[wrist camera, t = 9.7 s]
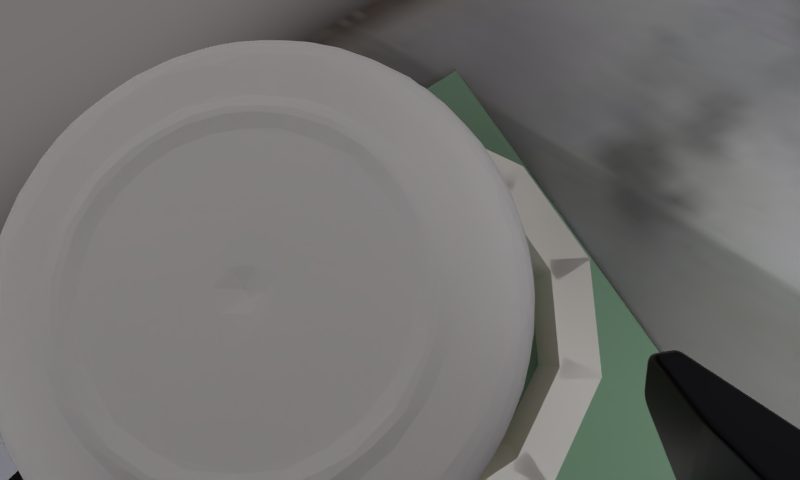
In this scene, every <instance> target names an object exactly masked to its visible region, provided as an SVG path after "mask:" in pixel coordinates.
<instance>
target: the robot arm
mask: <svg viewBox="0 0 800 480" xmlns="http://www.w3.org/2000/svg"><path fill="white" fill-rule="evenodd" d="M644 393H645V400H646V404H647V407H648V410H649V412H650V415H651V417H652V420H653V422H654V425H655V428H656V430H657V433H658V435H659V438H660V440H661V443H662V445H663V448H664V450H665V453H666V455H667V458H668V460H669V463H670V466H671V468H672V471H673V473H674V476H675V478H676V480H800V429H798V428H797V427H795V426H794V425H792V424H790V423H789V422H787V421H786V420H784V419H783V418H781V417H780V416H778V415H777V414H775V413H774V412H772V411H771V410H769V409H768V408H766V407H765V406H763V405H762V404H760V403H758V402H757V401H755V400H754V399H752V398H751V397H749V396H748V395H746V394H745V393H743V392H742V391H740V390H739V389H737V388H736V387H734V386H733V385H731V384H729V383H728V382H726V381H725V380H723V379H722V378H720V377H719V376H717V375H716V374H714V373H713V372H711V371H710V370H708V369H707V368H705V367H704V366H702V365H700V364H699V363H697V362H696V361H694V360H693V359H691V358H690V357H688V356H687V355H685V354H684V353H682V352H679V351H675V350H674V351H667V352H661V353H655V354H652V355H651V356H650V357H649V359H648V363H647V372H646V381H645V391H644ZM9 480H23V479H22V477H21V475H20V473H19V471H17V472H16V473H15V474H14V475H13V476H12V477H11V478H10V479H9Z"/></svg>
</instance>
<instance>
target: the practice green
mask: <svg viewBox="0 0 800 480" xmlns="http://www.w3.org/2000/svg"><path fill="white" fill-rule="evenodd" d="M427 90H429V91H430V92H431V93H432V94H434V95H435V96H436V97H437V98H438V99H440V100H441V101H442V102H443V103H445V104H446V105H447V106H448V107H449V108H450V109H451V110H452V112H453V113H454V114H455V115H456V116H457V117H458V118H459V119H460V120H461V121H462V122H463V123H464V124H465V125H466V126H467V127H468V128H469V129H470V130H471V131H472V133H473V134H474V135H475V136H476V137H477V138H478V139H479V141H480V142H481V143H482V144H483V146H484V147H485V149H486V150H487V152H488V154H489V155H490V157H491V158H492V160H493V161H494V163H495V164H496V166H497V167H498V169H499V170H500V172H501V174H502V176H503V178H504V180H505V182H506V184H507V186H508V188H509V190H510V192H511V194H512V197H513V199H514V202H515V205H516V208H517V210H518V213H519V216H520V219H521V221H522V224H523V228H524V232H525V236H526V240H527V244H528V247H529V251H530V257H531V263H532V269H533V279H534V289H535V313H534V336H533V342H532V349H531V356H530V361H529V366H528V370H527V375H526V379H525V384H524V388H523V391H522V394H521V396H520V399H519V402H518V405H517V407H516V410H515V413H514V415H513V418H512V420H511V422H510V424H509V427H508V429H507V431H506V433H505V436H504V437H503V439H502V441H501V443H500V445H499V447H498V448H497V450H496V452H495V454H494V456H493V457H492V459H491V461H490V463H489V464H488V466H487V468H486V469H485V471H484V472H483V474H482V475H481V477H480V478H479V480H676V478H675V476H674V473H673V471H672V468H671V466H670V463H669V460H668V458H667V455H666V453H665V450H664V448H663V445H662V443H661V440H660V438H659V435H658V433H657V430H656V428H655V425H654V422H653V420H652V417H651V415H650V412H649V410H648V407H647V404H646V400H645V393H644V391H645V381H646V372H647V363H648V359H649V357H650V356H651V355H652V354H655V353H660V352H659V351H658V350H657V348H656V347H655V345H654V344H653V343H652V341H651V340H650V339H649V337H648V336H647V334H646V333H645V332H644V330H643V329H642V327H641V326H640V325H639V323H638V322H637V320H636V319H635V318H634V316H633V315H632V314H631V312H630V311H629V309H628V308H627V307H626V305H625V304H624V302H623V301H622V300H621V298H620V297H619V296H618V294H617V293H616V291H615V290H614V289H613V287H612V286H611V284H610V283H609V282H608V280H607V279H606V277H605V276H604V275H603V273H602V272H601V271H600V269H599V268H598V266H597V265H596V264H595V262H594V261H593V259H592V258H591V257H590V255H589V254H588V252H587V251H586V250H585V248H584V247H583V246H582V244H581V243H580V241H579V240H578V239H577V237H576V236H575V234H574V233H573V232H572V230H571V229H570V227H569V226H568V225H567V223H566V222H565V221H564V219H563V218H562V216H561V215H560V214H559V212H558V211H557V209H556V208H555V207H554V205H553V204H552V202H551V201H550V200H549V198H548V197H547V196H546V194H545V193H544V191H543V190H542V189H541V187H540V186H539V184H538V183H537V182H536V180H535V179H534V177H533V176H532V175H531V173H530V172H529V171H528V169H527V168H526V166H525V165H524V164H523V162H522V161H521V159H520V158H519V157H518V155H517V154H516V152H515V151H514V150H513V148H512V147H511V146H510V144H509V143H508V141H507V140H506V139H505V137H504V136H503V134H502V133H501V132H500V130H499V129H498V127H497V126H496V125H495V123H494V122H493V121H492V119H491V118H490V116H489V115H488V114H487V112H486V111H485V109H484V108H483V107H482V105H481V104H480V103H479V101H478V100H477V98H476V97H475V96H474V94H473V93H472V91H471V90H470V89H469V87H468V86H467V84H466V83H465V82H464V80H463V79H462V78H461V76H460V75H459V73H458V72H457V71H454V72H453V73H451V74H449V75H448V76H446V77H445V78H443V79H441V80H440V81H438V82H437V83H435V84H433V85H432V86H430V87H428V88H427Z"/></svg>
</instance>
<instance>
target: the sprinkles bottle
mask: <svg viewBox="0 0 800 480" xmlns="http://www.w3.org/2000/svg"><path fill="white" fill-rule="evenodd" d="M534 313H535V289H534V279H533V269H532V263H531V257H530V251H529V247H528V244H527V240H526V236H525V232H524V228H523V224H522V221H521V219H520V216H519V213H518V210H517V208H516V205H515V202H514V199H513V197H512V194H511V192H510V190H509V188H508V186H507V184H506V182H505V180H504V178H503V176H502V174H501V172H500V170H499V169H498V167H497V166H496V164H495V163H494V161H493V160H492V158H491V157H490V155H489V154H488V152H487V150H486V149H485V147H484V146H483V144H482V143H481V142H480V141H479V139H478V138H477V137H476V136H475V135H474V134H473V133H472V131H471V130H470V129H469V128H468V127H467V126H466V125H465V124H464V123H463V122H462V121H461V120H460V119H459V118H458V117H457V116H456V115H455V114H454V113H453V112H452V110H451V109H450V108H449V107H448V106H447V105H446V104H445V103H443V102H442V101H441V100H440V99H438V98H437V97H436V96H435V95H434V94H432V93H431V92H430V91H429V90H427V89H426V88H424V87H423V86H421V85H419V84H418V83H416V82H415V81H414V80H412V79H411V78H410V77H408V76H406V75H404V74H402V73H400V72H398V71H396V70H394V69H391V68H389V67H387V66H385V65H383V64H381V63H379V62H377V61H375V60H373V59H370V58H367V57H364V56H362V55H359V54H356V53H353V52H350V51H347V50H344V49H341V48H338V47H332V46H327V45H322V44H317V43H312V42H301V41H286V40H257V41H242V42H234V43H227V44H222V45H216V46H212V47H208V48H204V49H200V50H197V51H194V52H191V53H188V54H184V55H181V56H178V57H175V58H172V59H170V60H168V61H166V62H163V63H161V64H159V65H157V66H155V67H153V68H151V69H149V70H146V71H144V72H142V73H140V74H138V75H136V76H134V77H133V78H131V79H130V80H128V81H126V82H125V83H123V84H122V85H120V86H119V87H117V88H116V89H114V90H113V91H111V92H110V93H109V94H107V95H106V96H104V97H103V98H102V99H101V100H99V101H98V102H96V103H95V104H94V105H92V106H91V107H90V108H89V109H87V110H86V111H85V112H84V113H83V114H81V115H80V116H79V117H78V118H77V119H76V120H74V121H73V122H72V123H71V124H70V125H69V126H68V127H67V128H66V130H65V131H64V132H63V133H62V134H61V135H60V136H59V137H58V138H57V139H56V140H55V142H54V143H53V144H52V145H51V147H50V148H49V149H48V150H47V152H46V153H45V154H44V156H43V157H42V158H41V160H40V161H39V163H38V164H37V166H36V168H35V169H34V171H33V172H32V174H31V175H30V177H29V178H28V180H27V181H26V183H25V185H24V186H23V188H22V189H21V191H20V192H19V194H18V196H17V199H16V201H15V203H14V205H13V207H12V209H11V212H10V214H9V216H8V218H7V220H6V223H5V225H4V228H3V230H2V232H1V235H0V434H1V437H2V440H3V442H4V445H5V446H6V448H7V450H8V452H9V454H10V456H11V458H12V460H13V462H14V463H15V465H16V467H17V469H18V471H19V473H20V475H21V477H22V479H23V480H479V478H480V477H481V475H482V474H483V472H484V471H485V469H486V468H487V466H488V464H489V463H490V461H491V459H492V457H493V456H494V454H495V452H496V450H497V448H498V447H499V445H500V443H501V441H502V439H503V437H504V436H505V433H506V431H507V429H508V427H509V424H510V422H511V420H512V418H513V415H514V413H515V410H516V407H517V405H518V402H519V399H520V396H521V394H522V391H523V388H524V384H525V379H526V375H527V370H528V366H529V361H530V356H531V349H532V342H533V336H534Z"/></svg>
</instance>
